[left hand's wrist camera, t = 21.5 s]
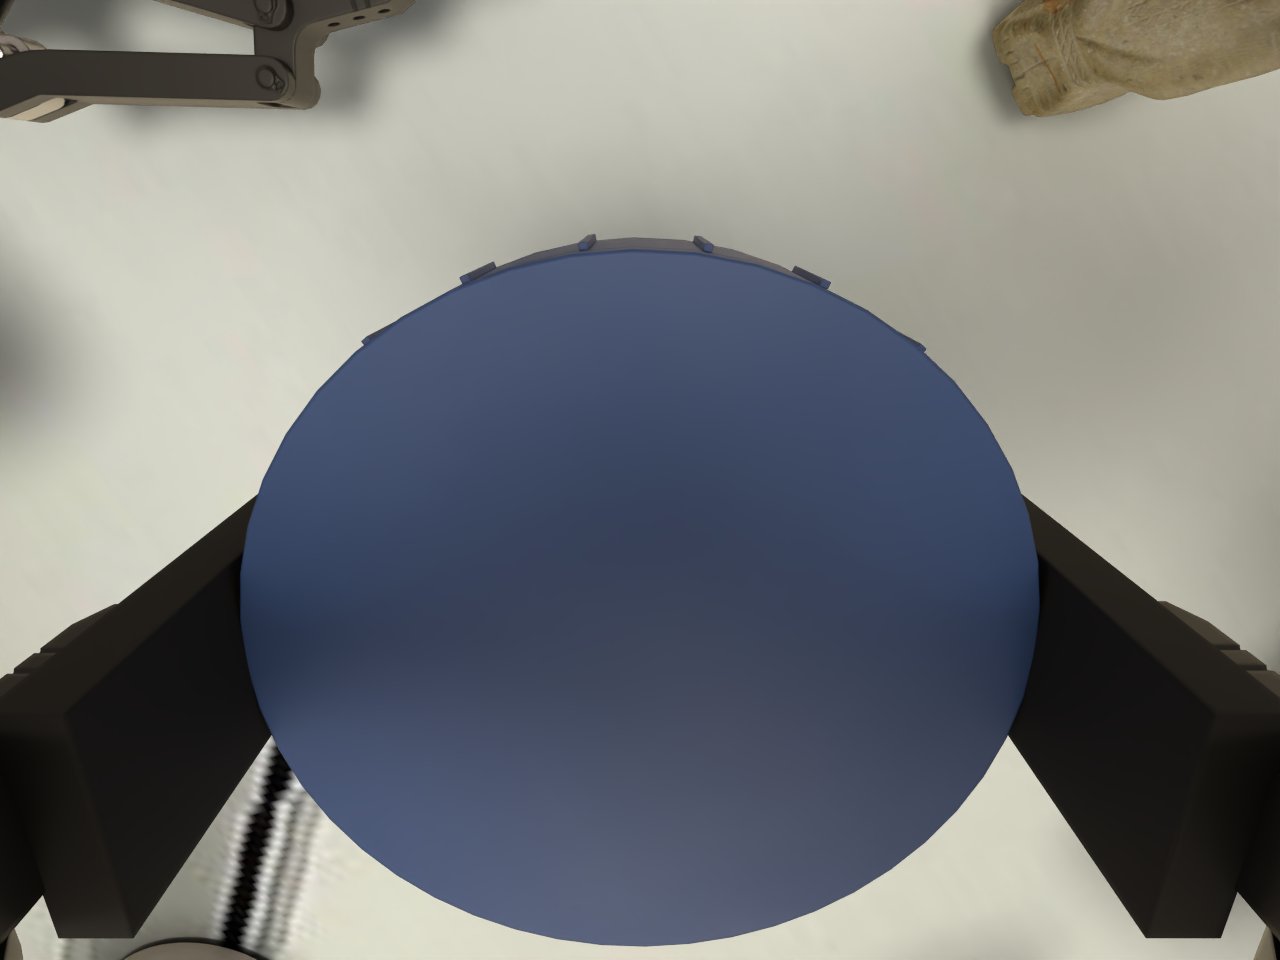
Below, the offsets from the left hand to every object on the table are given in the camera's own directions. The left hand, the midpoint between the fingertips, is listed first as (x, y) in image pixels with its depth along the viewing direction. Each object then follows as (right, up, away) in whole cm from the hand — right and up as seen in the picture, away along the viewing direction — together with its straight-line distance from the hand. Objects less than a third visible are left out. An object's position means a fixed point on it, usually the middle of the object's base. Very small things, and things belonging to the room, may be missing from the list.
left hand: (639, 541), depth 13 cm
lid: (0, -1, -3) cm, 3 cm away
